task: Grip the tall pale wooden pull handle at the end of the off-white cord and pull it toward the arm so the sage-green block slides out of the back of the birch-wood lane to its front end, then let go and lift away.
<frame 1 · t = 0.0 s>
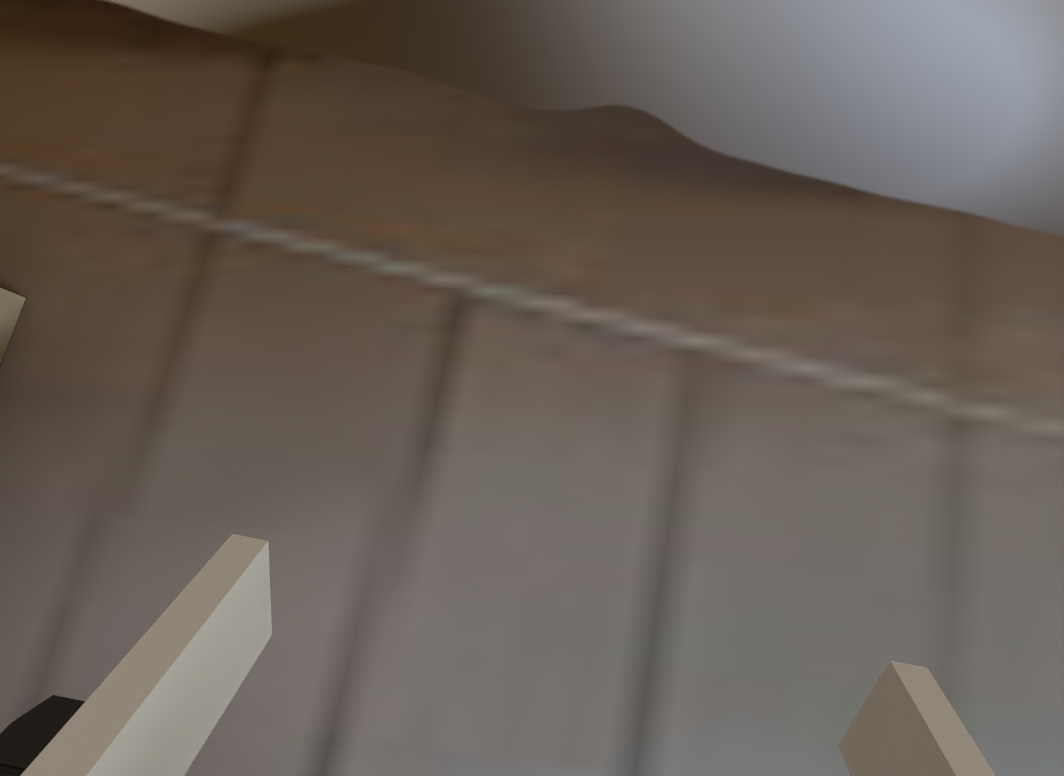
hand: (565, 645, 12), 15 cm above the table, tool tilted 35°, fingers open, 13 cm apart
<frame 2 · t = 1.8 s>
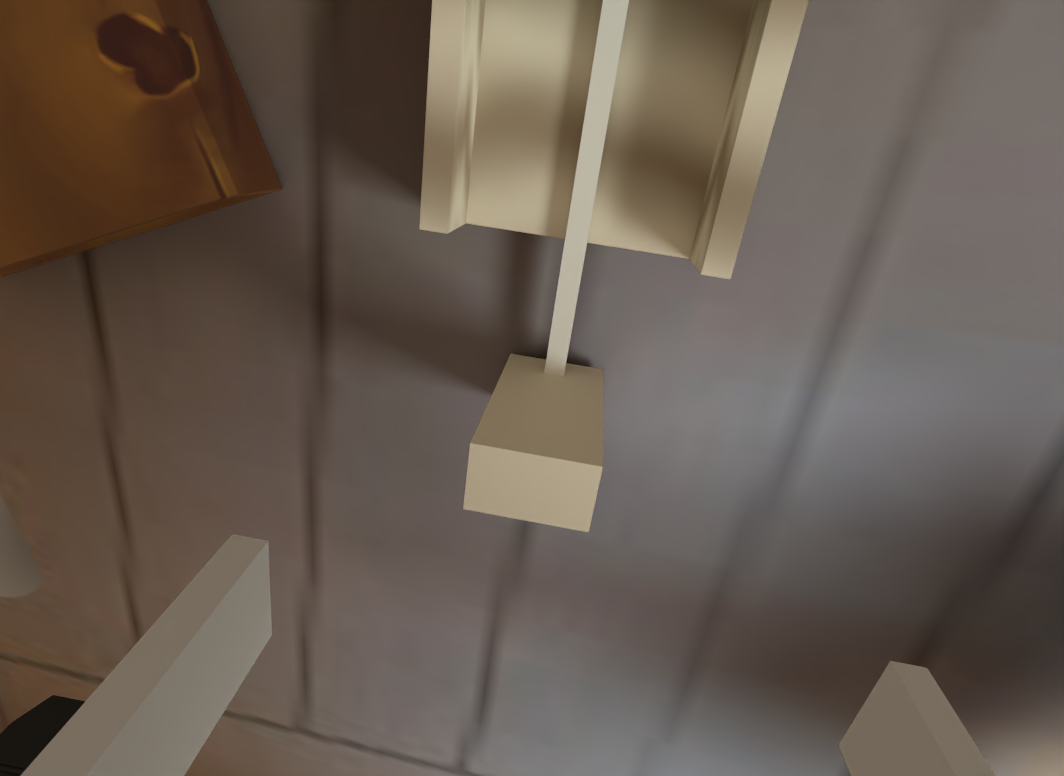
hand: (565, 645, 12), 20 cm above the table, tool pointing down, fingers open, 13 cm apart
block sled: (591, 135, 21), point 6 cm above the table, slide at 0.0 cm
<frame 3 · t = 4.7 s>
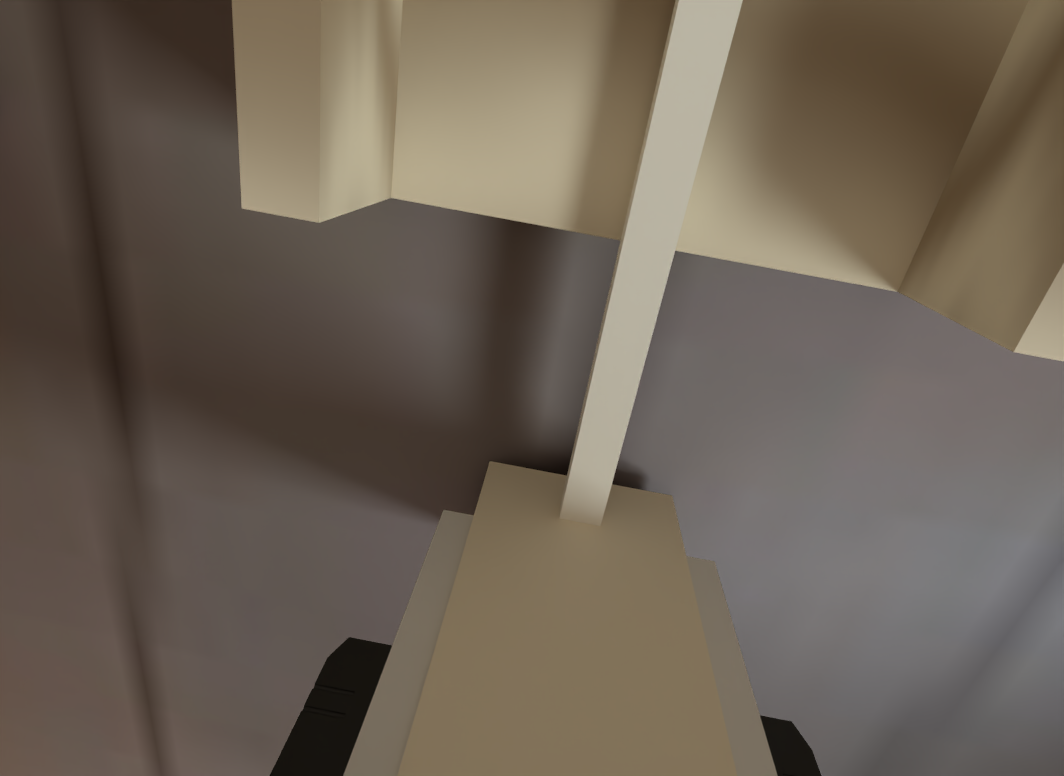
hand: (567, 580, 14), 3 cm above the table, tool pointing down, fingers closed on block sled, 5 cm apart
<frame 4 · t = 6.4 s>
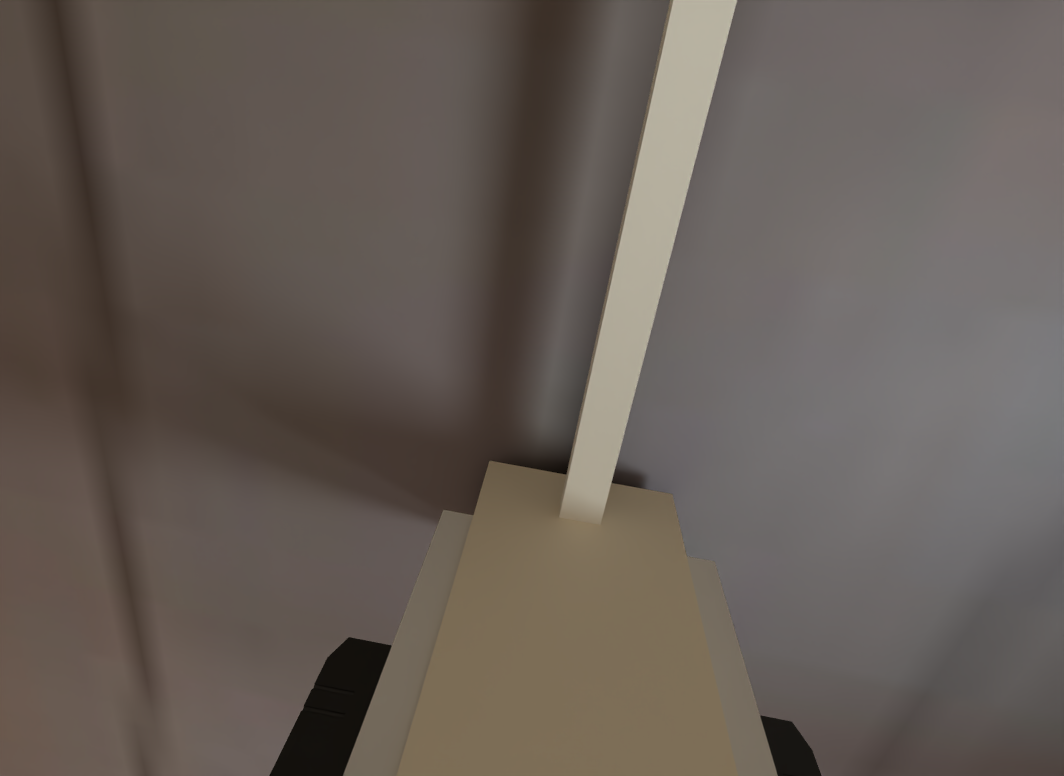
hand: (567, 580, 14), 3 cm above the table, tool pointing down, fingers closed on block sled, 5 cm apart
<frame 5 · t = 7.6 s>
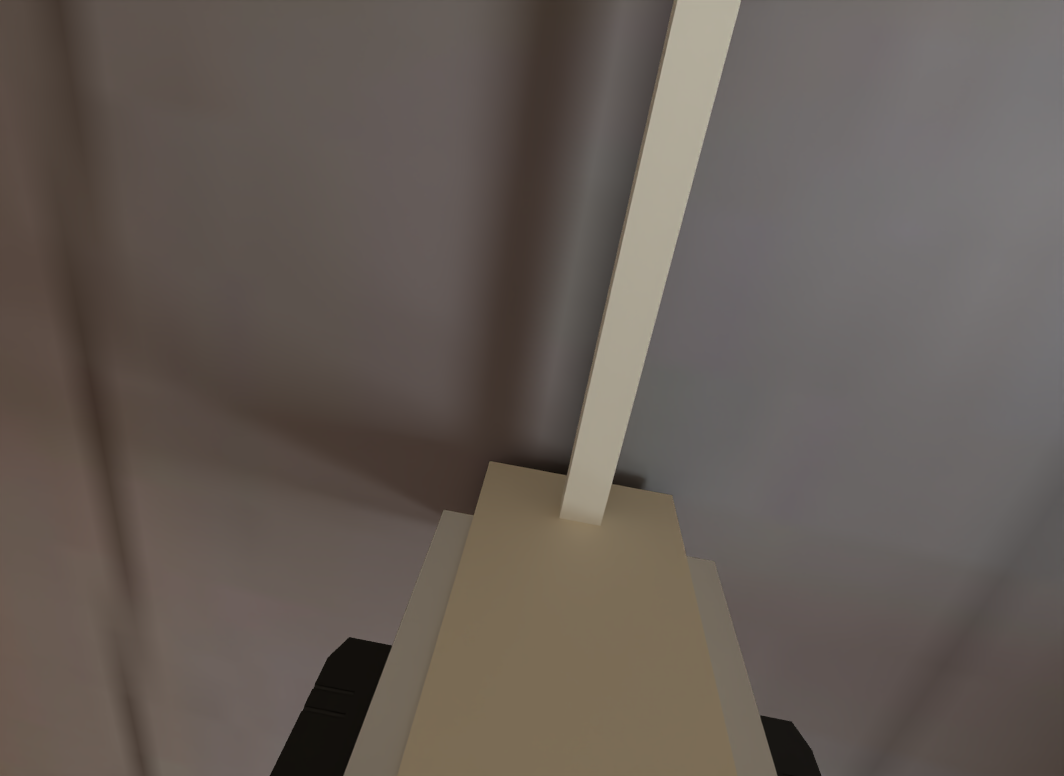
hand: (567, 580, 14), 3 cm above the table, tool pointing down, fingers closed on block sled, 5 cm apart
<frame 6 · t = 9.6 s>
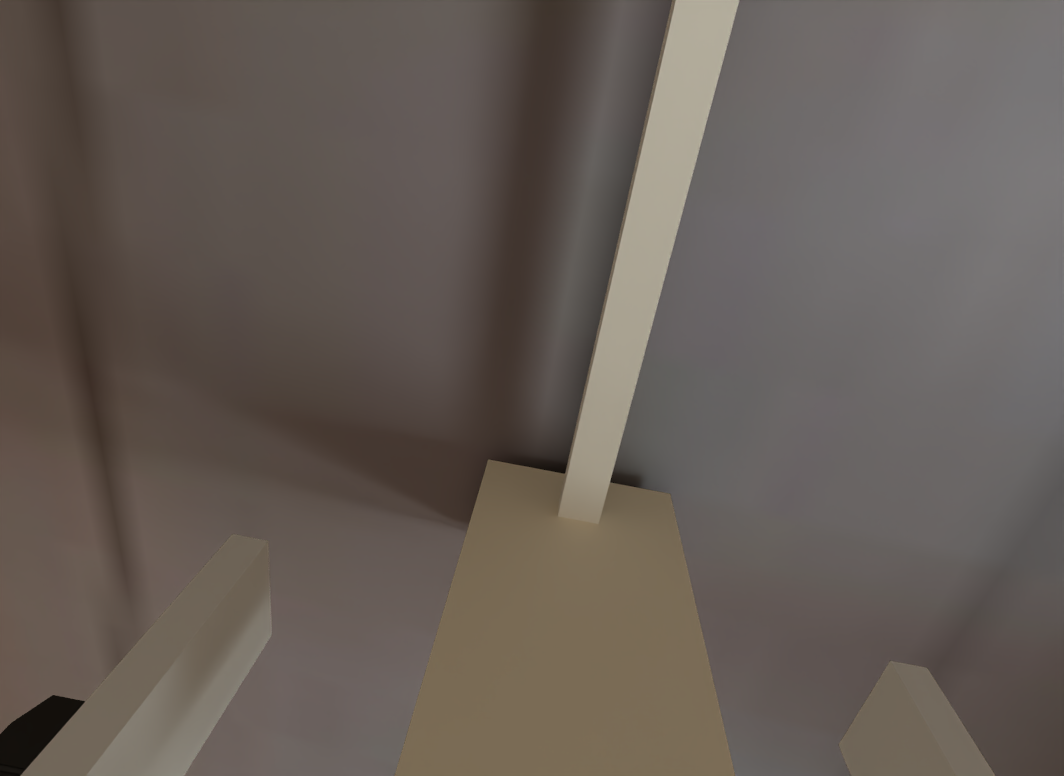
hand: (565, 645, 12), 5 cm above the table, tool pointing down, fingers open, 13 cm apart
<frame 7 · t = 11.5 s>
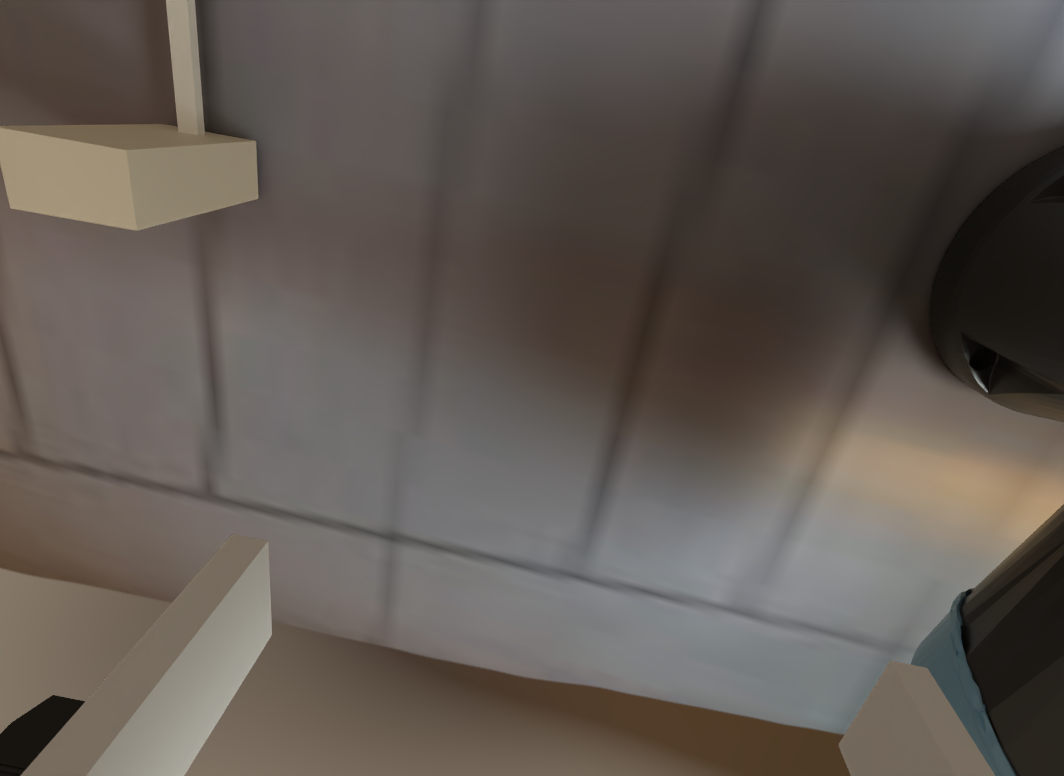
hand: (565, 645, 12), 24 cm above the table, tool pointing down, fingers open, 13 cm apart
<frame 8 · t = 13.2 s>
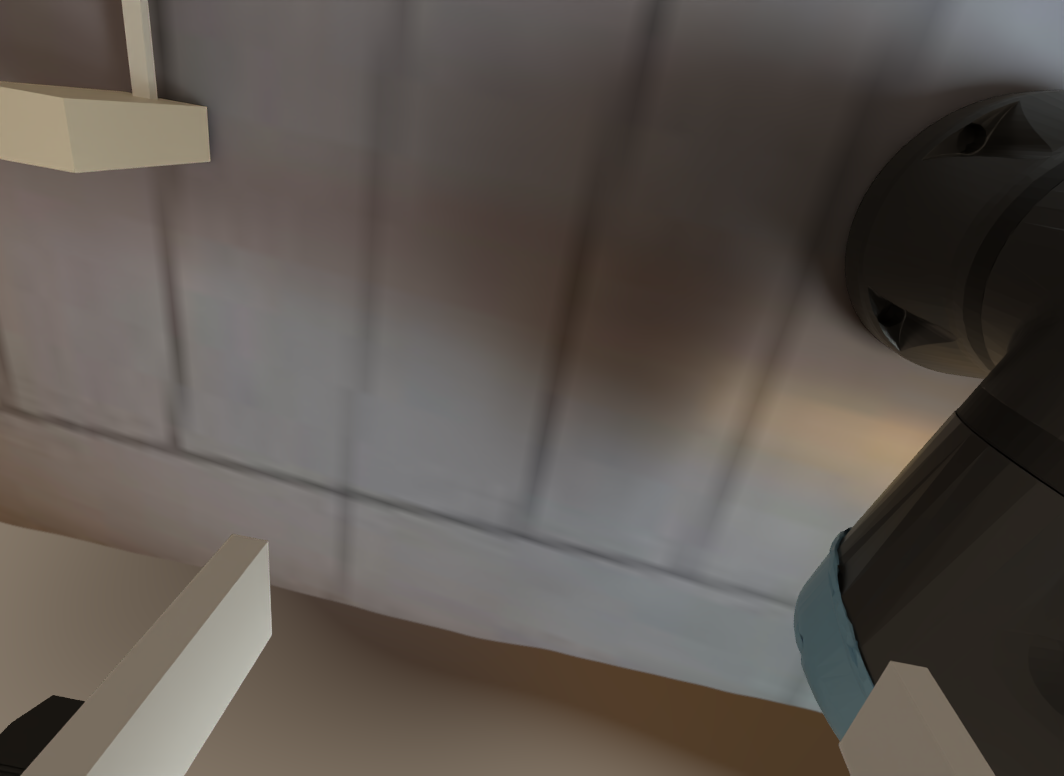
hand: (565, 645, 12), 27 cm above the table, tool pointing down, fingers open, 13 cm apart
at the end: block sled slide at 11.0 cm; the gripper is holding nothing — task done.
